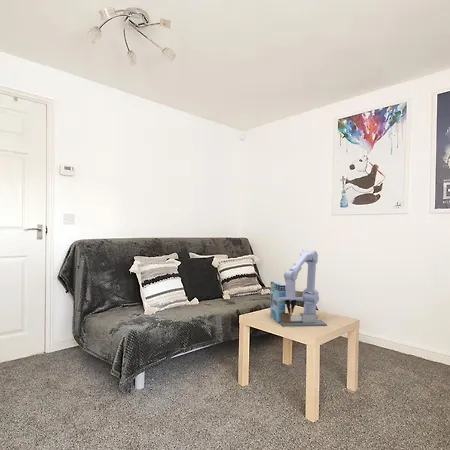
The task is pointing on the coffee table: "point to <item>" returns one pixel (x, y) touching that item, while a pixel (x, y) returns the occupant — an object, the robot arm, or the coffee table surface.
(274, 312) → the gum box
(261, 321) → the coffee table surface
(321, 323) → the base board
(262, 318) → the coffee table surface
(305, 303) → the robot arm
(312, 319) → the sleeve
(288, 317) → the socket
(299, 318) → the blocks
